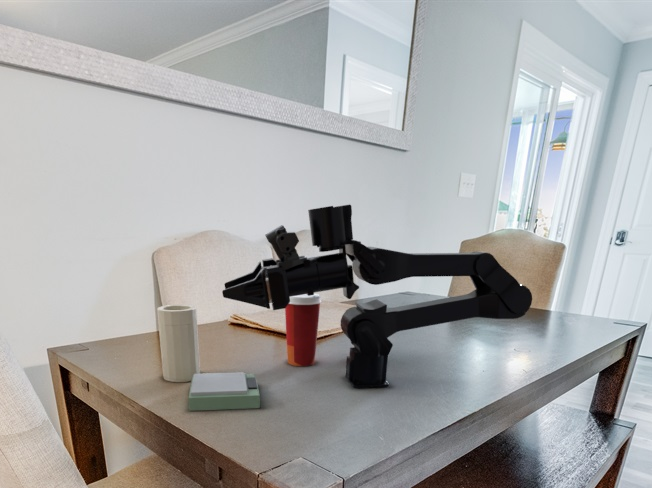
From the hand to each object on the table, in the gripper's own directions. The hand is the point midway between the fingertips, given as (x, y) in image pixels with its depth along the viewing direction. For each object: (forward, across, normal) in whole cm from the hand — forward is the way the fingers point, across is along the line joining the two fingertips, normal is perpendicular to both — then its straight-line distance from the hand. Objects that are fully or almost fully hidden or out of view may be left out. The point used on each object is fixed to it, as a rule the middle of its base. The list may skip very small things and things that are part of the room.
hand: (223, 289), depth 77 cm
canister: (+11, -6, +15) cm, 20 cm away
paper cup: (-12, -14, +19) cm, 26 cm away
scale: (+3, +6, +17) cm, 18 cm away
